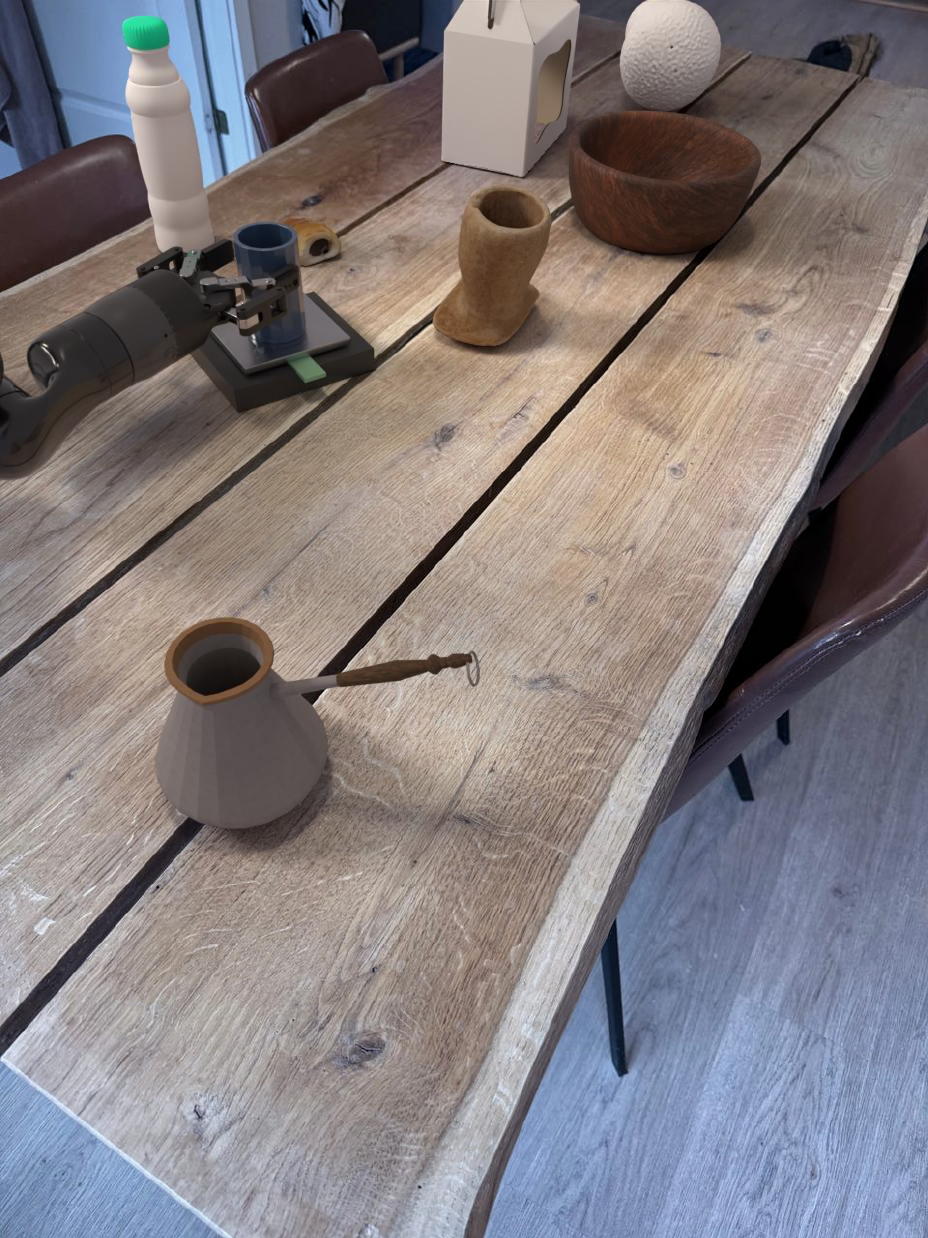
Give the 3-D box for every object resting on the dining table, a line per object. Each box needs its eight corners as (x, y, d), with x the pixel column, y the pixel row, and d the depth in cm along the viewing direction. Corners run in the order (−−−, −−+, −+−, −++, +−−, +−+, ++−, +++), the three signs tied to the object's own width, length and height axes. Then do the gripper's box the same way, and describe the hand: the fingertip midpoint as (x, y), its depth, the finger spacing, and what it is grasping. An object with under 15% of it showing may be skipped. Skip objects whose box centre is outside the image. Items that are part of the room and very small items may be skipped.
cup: (262, 349, 93) (248, 255, 86) (237, 322, 97) (222, 229, 89) (316, 334, 96) (308, 241, 88) (290, 308, 99) (280, 216, 92)
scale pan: (246, 375, 91) (244, 368, 91) (203, 325, 97) (202, 318, 97) (351, 343, 96) (350, 337, 95) (304, 298, 102) (303, 291, 101)
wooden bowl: (648, 283, 114) (664, 200, 106) (523, 209, 127) (530, 130, 119) (779, 236, 124) (803, 157, 116) (652, 171, 137) (665, 97, 130)
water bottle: (223, 254, 114) (186, 25, 96) (168, 265, 112) (119, 32, 93) (204, 231, 118) (165, 7, 100) (151, 241, 116) (101, 13, 97)
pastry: (267, 239, 118) (264, 209, 115) (314, 228, 120) (312, 199, 117) (299, 269, 112) (296, 239, 110) (347, 258, 115) (346, 228, 112)
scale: (246, 423, 91) (241, 398, 89) (185, 348, 100) (180, 324, 97) (384, 378, 97) (383, 354, 95) (316, 311, 106) (314, 288, 104)
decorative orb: (658, 135, 147) (679, 22, 135) (578, 103, 156) (591, -6, 144) (731, 109, 157) (757, 1, 145) (652, 81, 165) (671, -24, 153)
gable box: (490, 114, 151) (503, -97, 130) (566, 128, 148) (591, -86, 127) (440, 162, 136) (445, -67, 116) (523, 179, 134) (543, -53, 113)
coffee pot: (140, 838, 60) (78, 701, 49) (191, 700, 67) (147, 554, 56) (462, 871, 59) (473, 739, 48) (476, 727, 67) (488, 586, 56)
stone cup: (517, 365, 100) (530, 231, 89) (419, 339, 103) (420, 205, 92) (562, 304, 109) (579, 175, 98) (472, 281, 112) (478, 154, 101)
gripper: (194, 315, 76) (316, 243, 85) (75, 265, 81) (203, 203, 90) (209, 392, 81) (322, 316, 91) (97, 341, 86) (215, 275, 96)
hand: (263, 260), depth 90 cm, fingers open, 8 cm apart
